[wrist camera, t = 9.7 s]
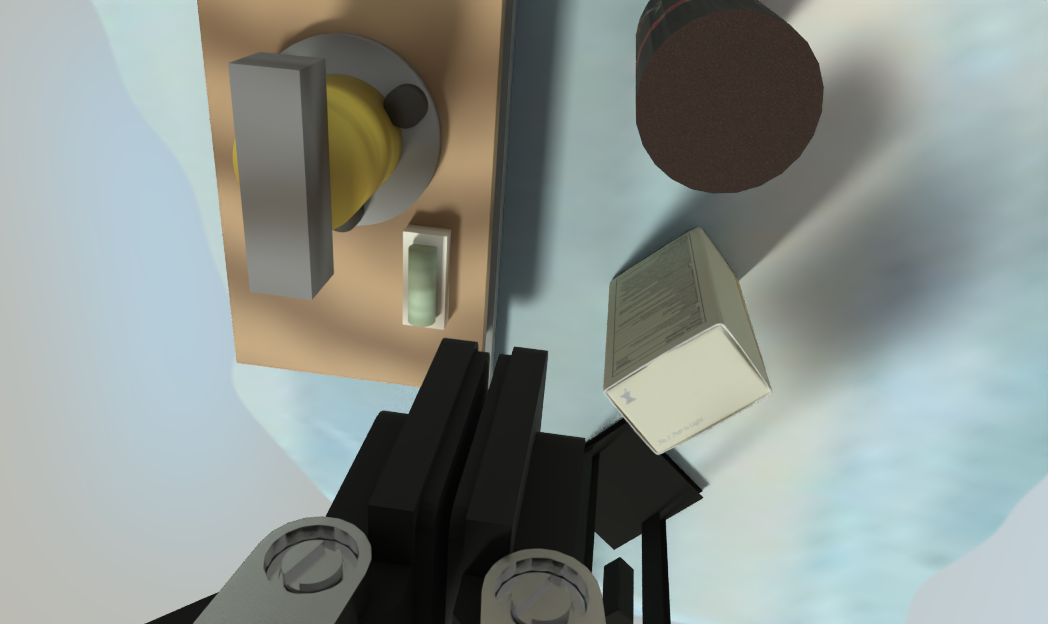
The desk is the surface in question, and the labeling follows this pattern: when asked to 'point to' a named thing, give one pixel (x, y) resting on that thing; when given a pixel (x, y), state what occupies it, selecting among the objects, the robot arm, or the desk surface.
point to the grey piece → (500, 177)
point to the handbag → (630, 517)
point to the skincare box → (680, 344)
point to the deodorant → (723, 92)
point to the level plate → (378, 248)
